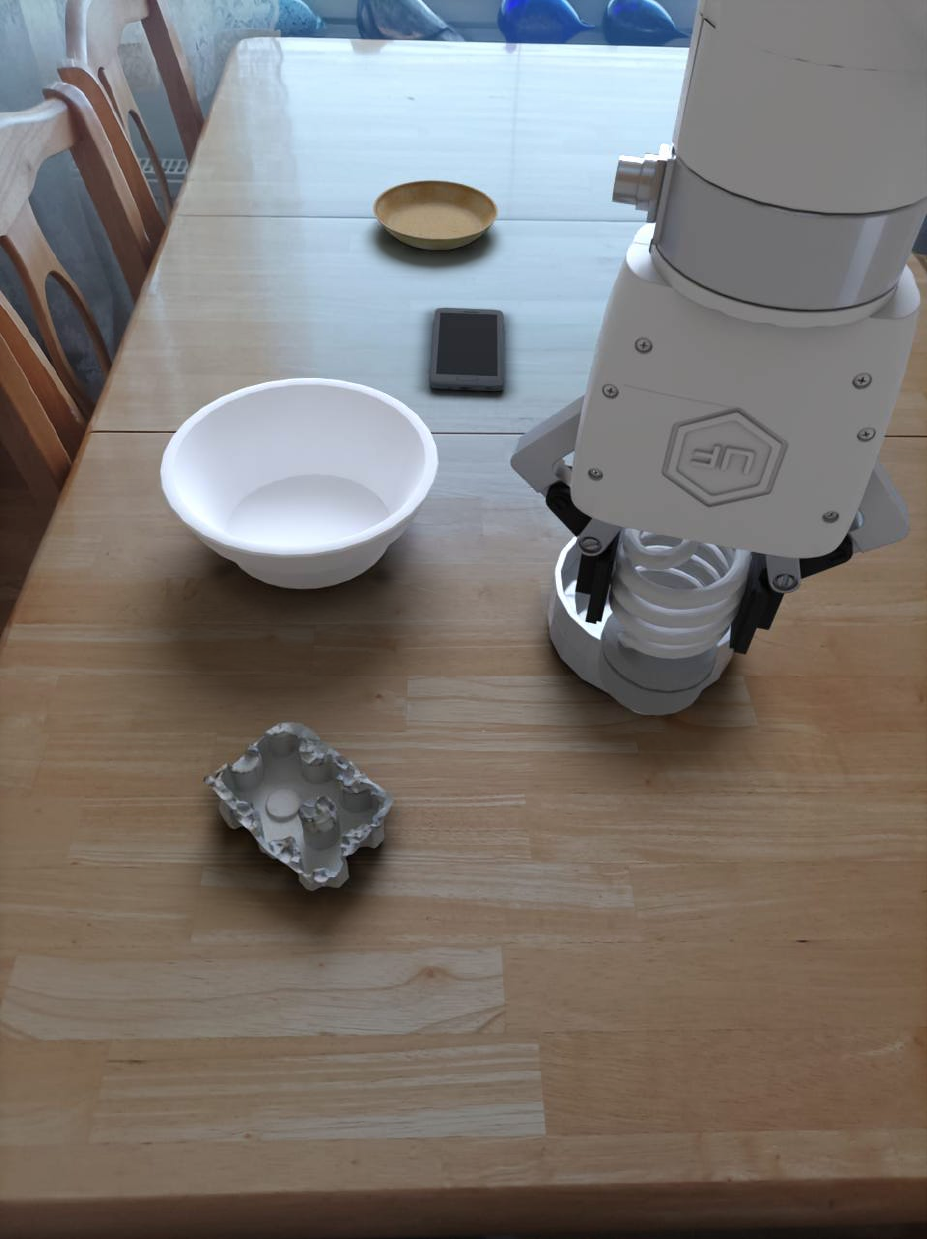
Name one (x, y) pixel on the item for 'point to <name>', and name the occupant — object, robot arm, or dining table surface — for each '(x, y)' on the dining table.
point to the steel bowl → (583, 638)
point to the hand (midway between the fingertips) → (668, 612)
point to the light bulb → (667, 619)
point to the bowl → (300, 478)
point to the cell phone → (468, 349)
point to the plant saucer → (435, 213)
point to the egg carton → (302, 803)
